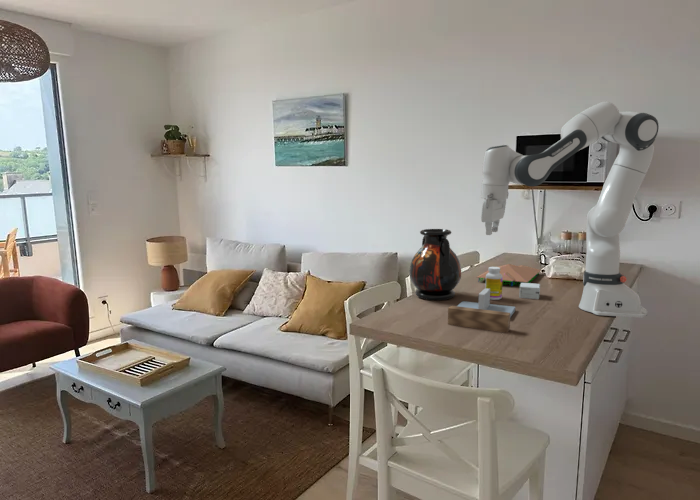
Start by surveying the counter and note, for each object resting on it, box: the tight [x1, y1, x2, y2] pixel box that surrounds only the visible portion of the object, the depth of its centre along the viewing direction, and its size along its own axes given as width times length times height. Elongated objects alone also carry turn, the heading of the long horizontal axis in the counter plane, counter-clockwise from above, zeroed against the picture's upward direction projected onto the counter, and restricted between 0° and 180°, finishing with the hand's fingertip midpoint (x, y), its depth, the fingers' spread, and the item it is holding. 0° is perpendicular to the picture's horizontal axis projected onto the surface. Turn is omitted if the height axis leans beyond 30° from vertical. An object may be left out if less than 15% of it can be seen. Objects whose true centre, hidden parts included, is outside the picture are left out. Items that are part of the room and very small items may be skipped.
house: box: [476, 263, 542, 287], centre depth 234 cm, size 23×33×8 cm
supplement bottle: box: [484, 266, 503, 301], centre depth 201 cm, size 7×7×13 cm
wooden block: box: [447, 305, 511, 334], centre depth 165 cm, size 20×4×6 cm, turn 61°
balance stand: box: [457, 288, 516, 319], centre depth 181 cm, size 20×14×8 cm
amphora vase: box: [409, 228, 462, 301], centre depth 205 cm, size 22×22×28 cm
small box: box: [518, 282, 541, 300], centre depth 203 cm, size 8×8×5 cm
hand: (491, 233), depth 170 cm, fingers open, 8 cm apart
